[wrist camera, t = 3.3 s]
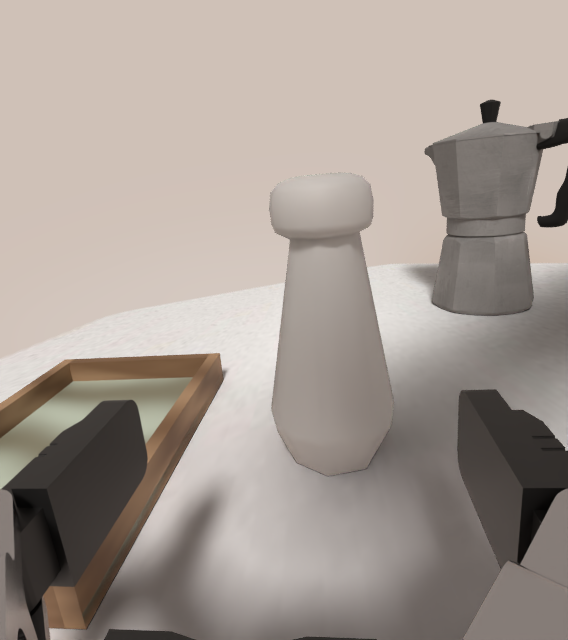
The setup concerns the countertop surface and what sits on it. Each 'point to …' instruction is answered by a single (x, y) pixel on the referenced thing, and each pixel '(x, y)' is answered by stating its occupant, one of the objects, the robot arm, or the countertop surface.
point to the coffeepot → (491, 212)
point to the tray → (159, 434)
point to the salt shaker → (328, 327)
